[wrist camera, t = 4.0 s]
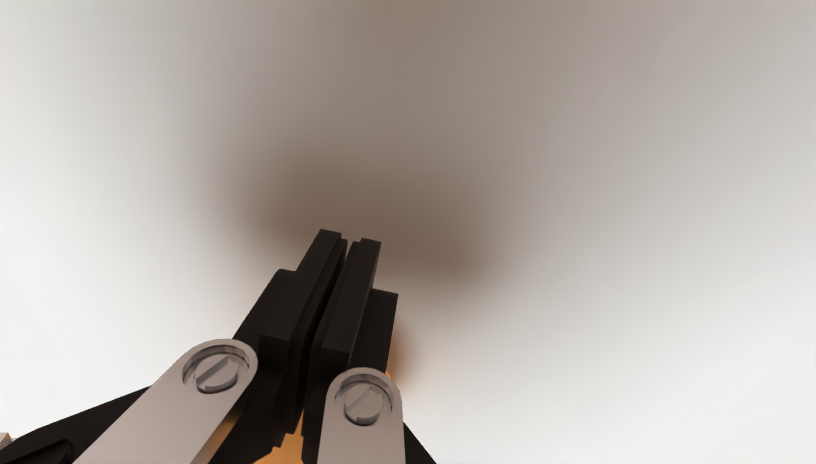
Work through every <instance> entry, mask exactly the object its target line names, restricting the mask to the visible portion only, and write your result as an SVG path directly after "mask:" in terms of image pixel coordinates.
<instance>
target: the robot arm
mask: <svg viewBox="0 0 816 464" xmlns="http://www.w3.org/2000/svg"><path fill="white" fill-rule="evenodd" d="M347 242H348V241H347V240H346V239H341V233H338V232H334V231H329V230H325V229H321V230H320V231H319V233H318V234H317V236H316V238H315V239H314V241H313V243H312V244H311V246H310V248H309V249H308V251H307V253H306V255H305V256H304V258H303V260H302V261H301V263H300V265H299V266H298V268H297V270H296V271H290V270H286V269H279V270H278V271H277V272H276V273H275V275H274V276H273V278H272V279H271V281H270V282H269V284H268V285H267V287H266V288H265V290H264V291H263V293H262V294H261V296H260V297H259V299H258V300H257V302H256V303H255V305H254V306H253V308H252V309H251V311H250V312H249V314H248V315H247V317H246V318H245V320H244V321H243V323H242V324H241V326H240V327H239V329H238V330H237V332H236V333H235V335H234V336H233V338H232V339H215V340H211V341H207V342H204V343H202V344H199V345H197V346H195V347H193V348H191V349H190V350H189V351H188V352H186V353H185V354H184V355H182V356H181V357H180V358H179V359H178V360H177V361H176V362H175V363H174V364H173V365H172V366H171V367H170V368H169V369H168V370H167V371H166V372H165V373H164V374H163V375H162V376H161V377H160V378H159V379H158V380H157V381H156V382H155V383H154V384H153V385H151V386H149V387H146V388H143V389H141V390H138V391H135V392H133V393H130V394H127V395H125V396H122V397H120V398H117V399H114V400H112V401H109V402H106V403H104V404H101V405H99V406H96V407H93V408H91V409H88V410H85V411H83V412H80V413H77V414H75V415H72V416H70V417H67V418H64V419H62V420H59V421H56V422H54V423H51V424H49V425H46V426H43V427H41V428H38V429H36V430H34V431H32V432H30V433H27V434H25V435H23V436H21V437H19V438H10V436H9V434H8V433H0V464H255V463H256V461H258V460H259V459H261V458H263V457H265V456H266V455H268V454H270V453H271V452H272V449H273V447H278V448H281V445H282V443H283V440H284V437H285V435H286V433H287V434H292V435H294V433H295V431H296V429H297V426H298V423H299V420H300V418H301V415H302V412H303V419H302V428H301V436H302V437H303V445H302V454H301V460H302V462H303V464H436V462H435V461H434V460H433V459H432V457H431V456H430V455H429V453H428V452H427V451H426V450H425V448H424V447H423V446H422V445H421V443H420V442H419V441H418V440H417V438H416V437H415V436H414V434H413V433H412V432H411V431H410V429H409V428H408V427H407V426H406V424H405V423H404V422H403V413H402V400H401V396H400V391H399V389H398V388H397V386H396V384H395V383H394V381H393V380H391V379H390V378H389V377H388V376H387V375H386V374H385V373H386V367H387V361H388V354H389V348H390V342H391V336H392V330H393V323H394V317H395V311H396V305H397V298H398V294H396V293H391V292H387V291H382V290H377V289H373V288H372V286H373V281H374V276H375V271H376V266H377V261H378V256H379V252H380V247H381V242H379V241H374V240H370V239H365V238H362V239H361V241H360V243H359V242H355V241H353V243H352V245H351V248H350V250H349V252H348V255H347V257H346V260H345V256H346V250H347ZM303 409H304V410H303Z"/></svg>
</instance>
